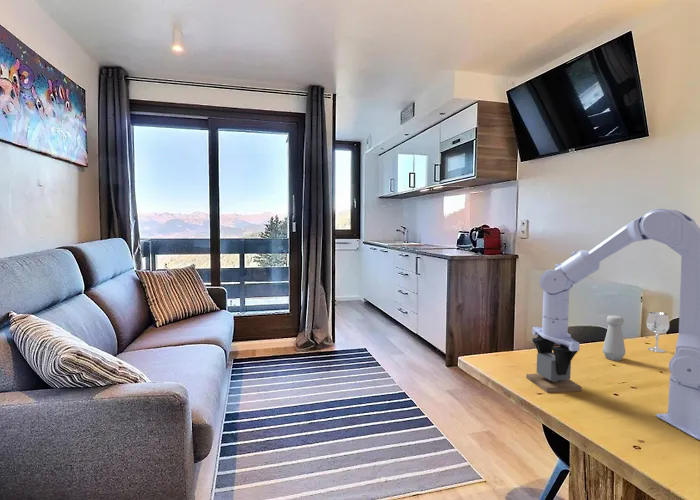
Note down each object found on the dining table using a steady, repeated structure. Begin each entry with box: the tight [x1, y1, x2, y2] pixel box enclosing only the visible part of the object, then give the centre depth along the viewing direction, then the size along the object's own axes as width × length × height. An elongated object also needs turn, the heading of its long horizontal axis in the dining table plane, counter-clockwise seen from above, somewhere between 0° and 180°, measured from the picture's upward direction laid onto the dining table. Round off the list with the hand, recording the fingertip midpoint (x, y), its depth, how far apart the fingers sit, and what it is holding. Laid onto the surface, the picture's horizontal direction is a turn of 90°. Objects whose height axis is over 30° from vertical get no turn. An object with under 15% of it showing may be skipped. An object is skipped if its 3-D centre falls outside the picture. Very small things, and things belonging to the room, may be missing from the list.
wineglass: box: [646, 311, 670, 353], centre depth 125 cm, size 6×6×12 cm
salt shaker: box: [602, 314, 626, 362], centre depth 117 cm, size 6×6×13 cm
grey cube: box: [536, 351, 572, 381], centre depth 98 cm, size 5×5×5 cm
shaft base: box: [525, 373, 583, 393], centre depth 98 cm, size 9×9×4 cm
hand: (553, 370), depth 98 cm, fingers closed on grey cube, 5 cm apart
